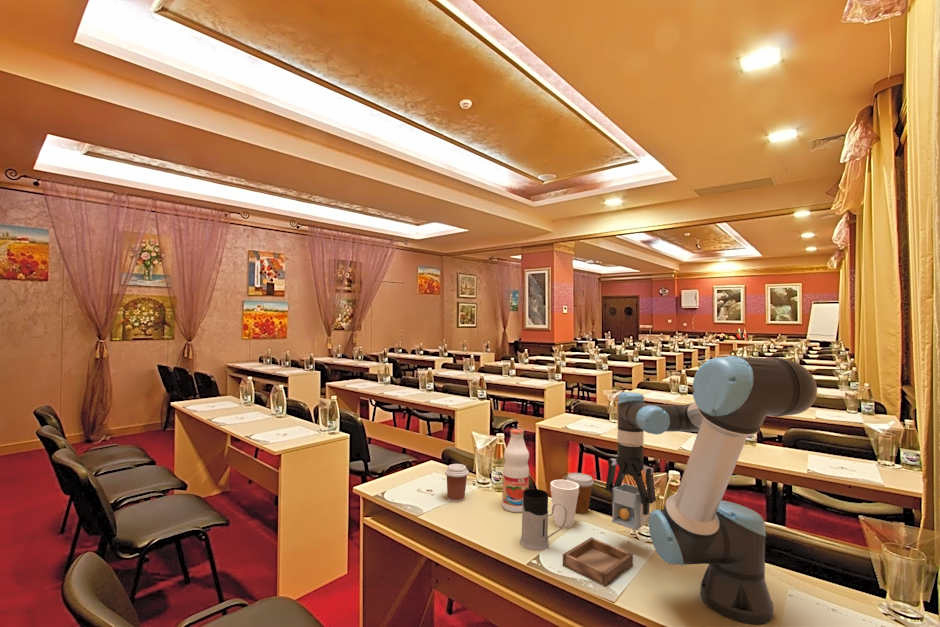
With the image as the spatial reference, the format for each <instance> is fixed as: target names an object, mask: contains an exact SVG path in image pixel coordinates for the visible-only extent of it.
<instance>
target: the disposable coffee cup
mask: <svg viewBox="0 0 940 627" xmlns="http://www.w3.org/2000/svg"><path fill="white" fill-rule="evenodd" d="M566 480H569V481H573V482H575V483H577V484H578V485H579V494H578V498H577V505H576V511H575V514H579V515H581V514H583V515H584V514H587V513H589V510H590V509H589V507H590V502H591V495H592V489H593V485H594V482H595V481H594V480H593V477H592V476H591V475H589V474H587V473H581V472H571V473H569V474H567V477H566Z"/></svg>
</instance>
